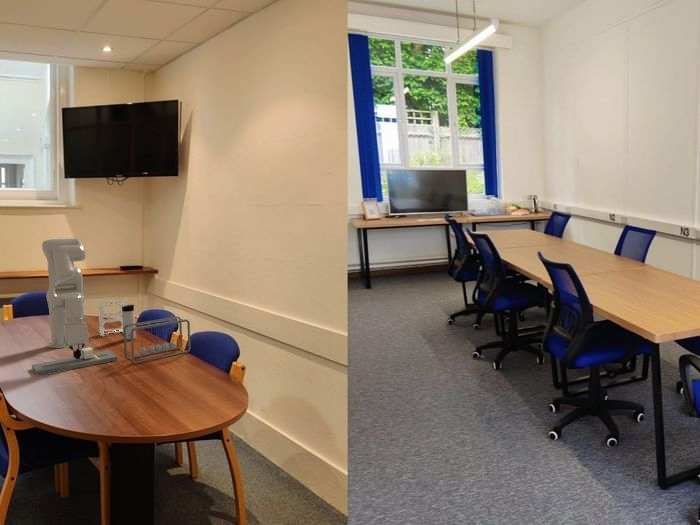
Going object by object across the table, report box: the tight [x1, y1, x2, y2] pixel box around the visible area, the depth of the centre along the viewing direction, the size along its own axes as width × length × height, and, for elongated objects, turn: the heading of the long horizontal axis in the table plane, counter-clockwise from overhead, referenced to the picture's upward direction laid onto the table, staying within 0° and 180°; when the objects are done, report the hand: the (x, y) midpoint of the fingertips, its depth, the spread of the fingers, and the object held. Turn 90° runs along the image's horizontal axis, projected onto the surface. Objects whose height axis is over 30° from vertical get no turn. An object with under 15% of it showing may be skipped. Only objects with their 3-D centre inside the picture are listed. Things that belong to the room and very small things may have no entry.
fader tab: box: [81, 346, 94, 359], centre depth 245 cm, size 5×4×4 cm
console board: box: [31, 350, 118, 377], centre depth 242 cm, size 13×34×2 cm, turn 132°
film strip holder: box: [97, 299, 126, 337], centre depth 300 cm, size 14×14×20 cm
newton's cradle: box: [122, 316, 191, 365], centre depth 255 cm, size 30×10×18 cm, turn 134°
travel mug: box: [122, 304, 137, 342], centre depth 286 cm, size 6×7×20 cm
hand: (77, 358), depth 242 cm, fingers closed
